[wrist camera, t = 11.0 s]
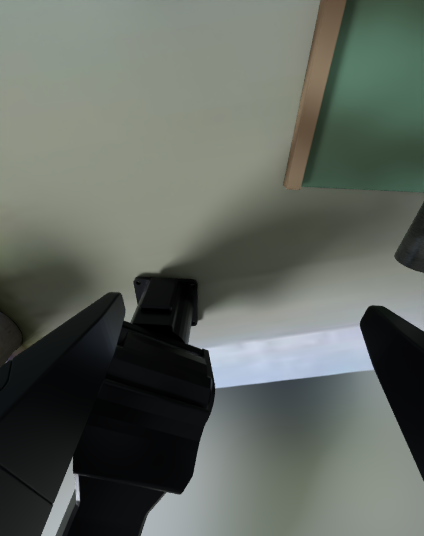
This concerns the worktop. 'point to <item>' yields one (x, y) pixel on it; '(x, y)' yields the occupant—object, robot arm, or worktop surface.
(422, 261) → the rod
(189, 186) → the worktop surface
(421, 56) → the pitch
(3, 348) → the pillar candle
